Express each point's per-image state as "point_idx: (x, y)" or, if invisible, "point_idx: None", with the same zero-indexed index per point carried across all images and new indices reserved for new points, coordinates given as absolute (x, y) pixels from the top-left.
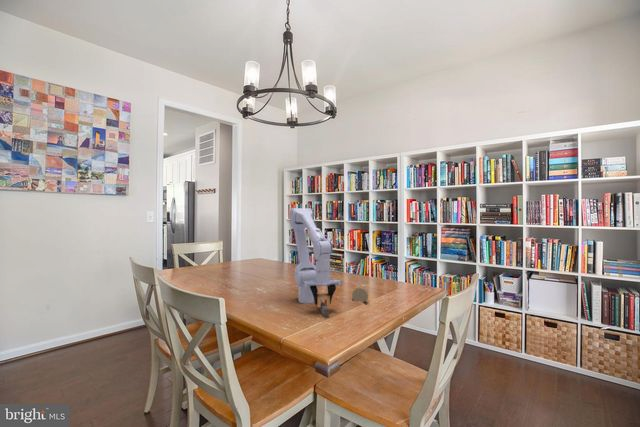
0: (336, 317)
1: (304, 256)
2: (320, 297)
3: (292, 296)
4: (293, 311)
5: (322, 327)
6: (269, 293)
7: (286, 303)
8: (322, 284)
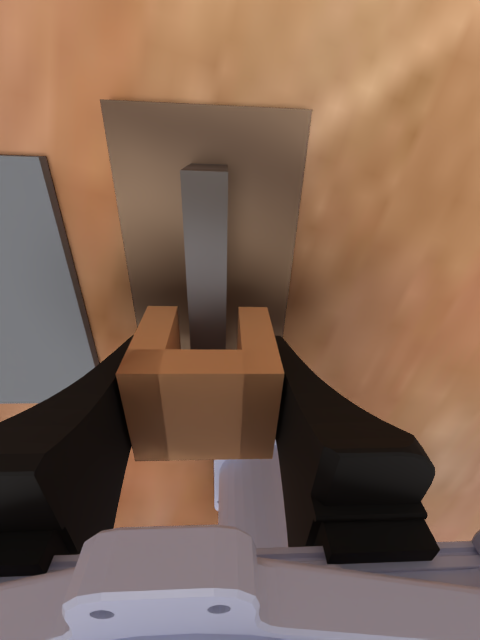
0: (113, 237)
1: None
2: (247, 366)
3: None
4: (370, 393)
5: (286, 16)
6: None
7: None
8: (251, 562)
